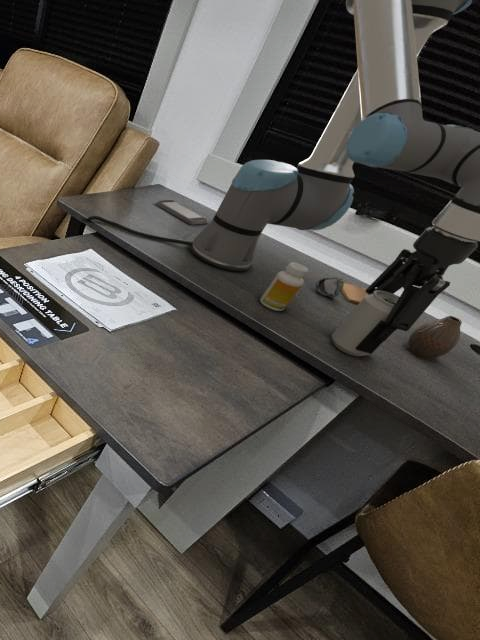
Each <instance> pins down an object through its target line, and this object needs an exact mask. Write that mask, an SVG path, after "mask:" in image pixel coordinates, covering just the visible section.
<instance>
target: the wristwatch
mask: <svg viewBox="0 0 480 640" xmlns="http://www.w3.org/2000/svg"><path fill="white" fill-rule="evenodd" d="M329 280H336V288H335V290H334V293H329V292H328V291H327V290H326V287H325V286H326V285H325V281H329ZM344 283H345V282H344V279H343V278H342V277H335V276H334V277H328V276H327V277H323V278H320V279H319V280H318V281H316V282H315V290H316V292H317V293H319V294H320V295H323V296H324V297H325V296H327V297H329V298H336V297H338V296H340V293H341V292H342V291H341V290H342V289H343V286H344Z"/></svg>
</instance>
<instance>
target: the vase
mask: <svg viewBox="0 0 480 640" xmlns="http://www.w3.org/2000/svg"><path fill="white" fill-rule="evenodd" d="M462 323H463V321H462V319H460V318H458V317H456V316H453V315H447V316H445V317H442V318H438V319H434V320H431V321H427V322H425V323H423V324H421V325H420V326H418V327H417V328H416V329H415V330H414V331H413V332H412V333H411V334H410V336H409V338H408V341H407V343H408V344H407V345H408V349H409V350H410V352H412V354H415V355H417V356H418V357H421V358H424V359H436V358H440V357H442V356H445V355H446V354H447V353H450V352H451V351H452V350H453V349H454V348H455V347H456V346H457V344H458V343H459V341H460V339H461V327H462V326H461V325H462Z"/></svg>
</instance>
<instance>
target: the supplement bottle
mask: <svg viewBox="0 0 480 640" xmlns="http://www.w3.org/2000/svg"><path fill="white" fill-rule="evenodd" d="M284 269H285V270H280V271H278V273H277V274H276V275H275V276H274V278H273V279H272V281H271V282H270V283H269V285H268V286H267V288H266V289H265V291H264V292H263V294H262V295H261V297H260V299H259V301H260V304H262V305H263V306H264V307H266V308H267V309H270V310H272V311H277V312H282V311H284V310H286V308H287V307H288V305H289V304H290V302H291V301H292V300H293V298H294V297H295V296H296V294H298V292H299V290H300V289H301V288H302V286H303V285H304V283H305V280H304V277H305V276H306V275H307V273H308V272H309V268H308V267H307V266H305V265H303V264H300V263H298V262H294V261H290V262H288V264H287V265H286V266H285V268H284Z"/></svg>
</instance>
